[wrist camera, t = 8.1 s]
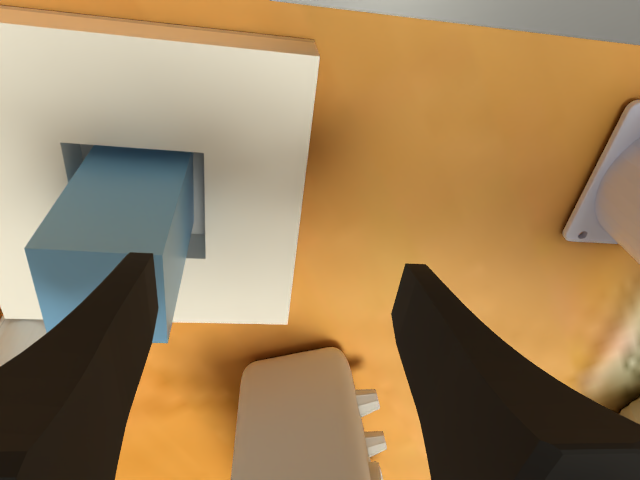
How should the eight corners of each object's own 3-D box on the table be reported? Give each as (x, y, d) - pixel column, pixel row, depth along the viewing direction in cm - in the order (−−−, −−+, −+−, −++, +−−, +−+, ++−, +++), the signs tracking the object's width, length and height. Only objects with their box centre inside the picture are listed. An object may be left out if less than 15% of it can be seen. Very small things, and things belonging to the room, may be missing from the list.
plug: (192, 146, 21) (162, 255, 15) (194, 230, 24) (168, 354, 18) (98, 138, 21) (23, 248, 14) (110, 225, 23) (51, 351, 17)
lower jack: (314, 39, 20) (319, 56, 18) (285, 293, 28) (287, 324, 26) (-61, -2, 18) (-104, 11, 16) (25, 285, 26) (4, 318, 24)
